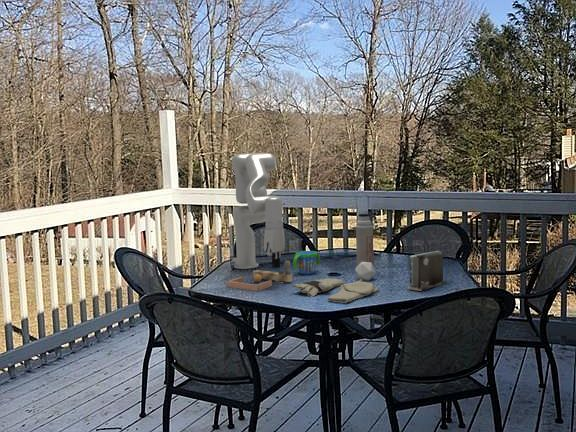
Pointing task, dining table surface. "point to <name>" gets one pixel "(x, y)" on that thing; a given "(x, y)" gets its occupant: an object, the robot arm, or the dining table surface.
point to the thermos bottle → (364, 240)
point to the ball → (257, 277)
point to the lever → (276, 274)
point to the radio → (426, 270)
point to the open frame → (240, 285)
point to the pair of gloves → (346, 290)
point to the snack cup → (306, 261)
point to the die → (365, 271)
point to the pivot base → (280, 281)
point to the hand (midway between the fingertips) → (276, 267)
